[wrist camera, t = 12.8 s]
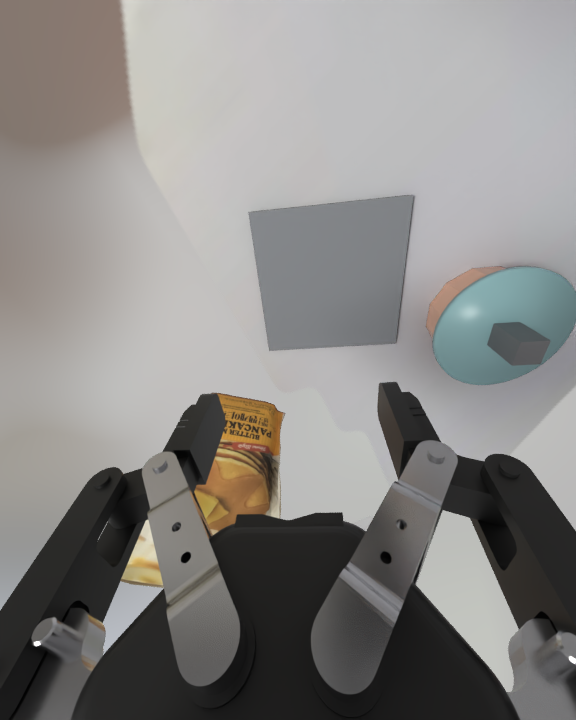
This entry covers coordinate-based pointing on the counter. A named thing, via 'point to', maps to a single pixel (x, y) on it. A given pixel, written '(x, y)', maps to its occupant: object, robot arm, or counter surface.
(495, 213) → the counter surface
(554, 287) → the lid
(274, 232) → the mat
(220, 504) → the pancake mix bag
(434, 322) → the bowl
